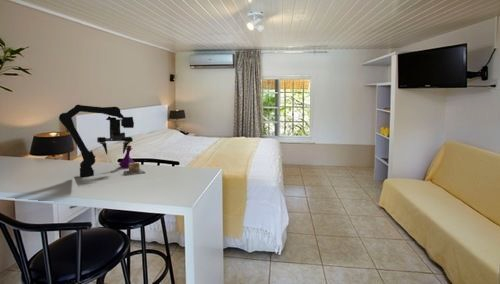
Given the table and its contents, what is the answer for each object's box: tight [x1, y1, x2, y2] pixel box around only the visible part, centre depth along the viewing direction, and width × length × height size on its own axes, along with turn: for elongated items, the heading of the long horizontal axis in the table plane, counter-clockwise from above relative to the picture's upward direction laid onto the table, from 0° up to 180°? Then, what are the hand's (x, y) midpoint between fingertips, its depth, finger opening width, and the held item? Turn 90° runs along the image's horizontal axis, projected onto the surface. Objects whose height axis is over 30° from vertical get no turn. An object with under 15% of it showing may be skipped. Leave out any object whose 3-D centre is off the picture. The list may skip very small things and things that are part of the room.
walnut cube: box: [128, 161, 140, 173], centre depth 178 cm, size 5×5×5 cm
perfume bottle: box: [118, 145, 136, 169], centre depth 193 cm, size 8×8×18 cm
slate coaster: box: [123, 169, 146, 176], centre depth 178 cm, size 10×10×1 cm
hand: (115, 154), depth 176 cm, fingers open, 9 cm apart
